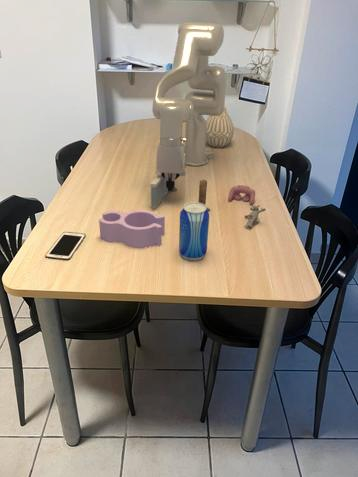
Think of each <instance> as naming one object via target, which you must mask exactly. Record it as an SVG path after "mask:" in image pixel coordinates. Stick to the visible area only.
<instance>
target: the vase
mask: <svg viewBox="0 0 358 477" xmlns="http://www.w3.org/2000/svg"><path fill="white" fill-rule="evenodd" d="M205 121H206V124H207V130H206V144H207V145H208V146H210V147H212V148H224V147H226V146H228V144H230V142H231V141H232V139H233V136H234V132H235V128H234V124H233V120H232V118H231V117H230V115H229V113H228V111H227V107H226V106H225V105H224V111H223V113H222V114H221V115H219V116H211V115H208V116H207V118H206V119H205Z"/></svg>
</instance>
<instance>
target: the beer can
mask: <svg viewBox="0 0 358 477" xmlns="http://www.w3.org/2000/svg"><path fill="white" fill-rule="evenodd" d="M207 208H208V207H207V206H206V205H204V204H202V203H199V201H198V202H197V201H191V202H187V203H185V204H184V205H183V208H182V209H181V211H180V212H179V213H180V214H179V233H178V234H179V237H178V252H179V254H180V255H181V257H182V258H183V259H185V260H187V261H198V260H201V259H203V258H204V256H206V255H207V253H208V252H207V251H208V240H209V239H208V238H209V226H210V225H209V224H210V212H208V211H207Z"/></svg>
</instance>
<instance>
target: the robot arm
mask: <svg viewBox="0 0 358 477" xmlns="http://www.w3.org/2000/svg"><path fill="white" fill-rule="evenodd" d="M177 35H178V36H177V39H176V40H177V42H176V46H175V51H174V52H175V53H174V57H173V62H172V68H171V69H170V70H169V71H168V72H166V74H165V75H163V77H161V79H160V80H159V82H158V83H157V85H156V87H155V91H154V96H153V101H152V114H153V117H155V118H156V119H158V120H159V121H160V122H159V126H160V127H159V132H160V134H159V142H158V145H157V149H156V161H155V163H156V164H155V167H156V170H155V174H156V175H157V176H158V175H161V176H162V177H163V178H164V179H165V180H166V188H168V191H172V190H173V188H176V187H175V182H176V180H177V179H178V178H179V177H185V176H186V170H185V169H186V166H191V167H199V166H204V165H207V164H208V161H209V159H208V156H212V155H213V154H214V152H213V150H210V151H208V150H206V146H207V145H206V144H207V142H206V130H207V124H206V118H204V116H209V115H211V116H219V115H221V114H222V113H223V111H224V106H225V103H226V102H225V100H226V88H227V87H226V84H227V77H226V76H227V74H226V71H225V69H224V68H223V67H222V66H217V65H210V63H209V57H213V56H216V54H217V53H218V52H219V50H220V49H221V47H222V45H223V42H224V37H225V31H224V28H223V25H221V24H220V23H217V22H216V23H215V22H199V21H197V22H196V21H186V22H182V23H181V24H179V25H178V28H177ZM185 82H187V83H188V87H190V89H192V90H193V91H189V92H187V93H186V94H185V96H184V98H177V97H167V96H165V95H166V94H167V92H168V91H169V90H170V89H172V88H173V87H176V86H178V85H179V84H182V83H185ZM183 123H185V135H184V137H183ZM169 173H173V175H172V177H171V179H170V177H169Z"/></svg>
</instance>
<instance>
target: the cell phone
mask: <svg viewBox="0 0 358 477" xmlns="http://www.w3.org/2000/svg"><path fill="white" fill-rule="evenodd" d="M85 238H86V233H82V232H71V231H63V232H62V233H61V234H60V236H59V237H58V238H57V240H56V241H55V242H54V243H53V245H52V246H51V247H50V248H49V250H48V251H47V252H46V254H45V259H47V258H48V259H47V260H56V261H70V260H72V258H73V256H74V254H75V252H77V250H78V249H79V247H80V246H81V244H82V243H83V242H84V241H85Z"/></svg>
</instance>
